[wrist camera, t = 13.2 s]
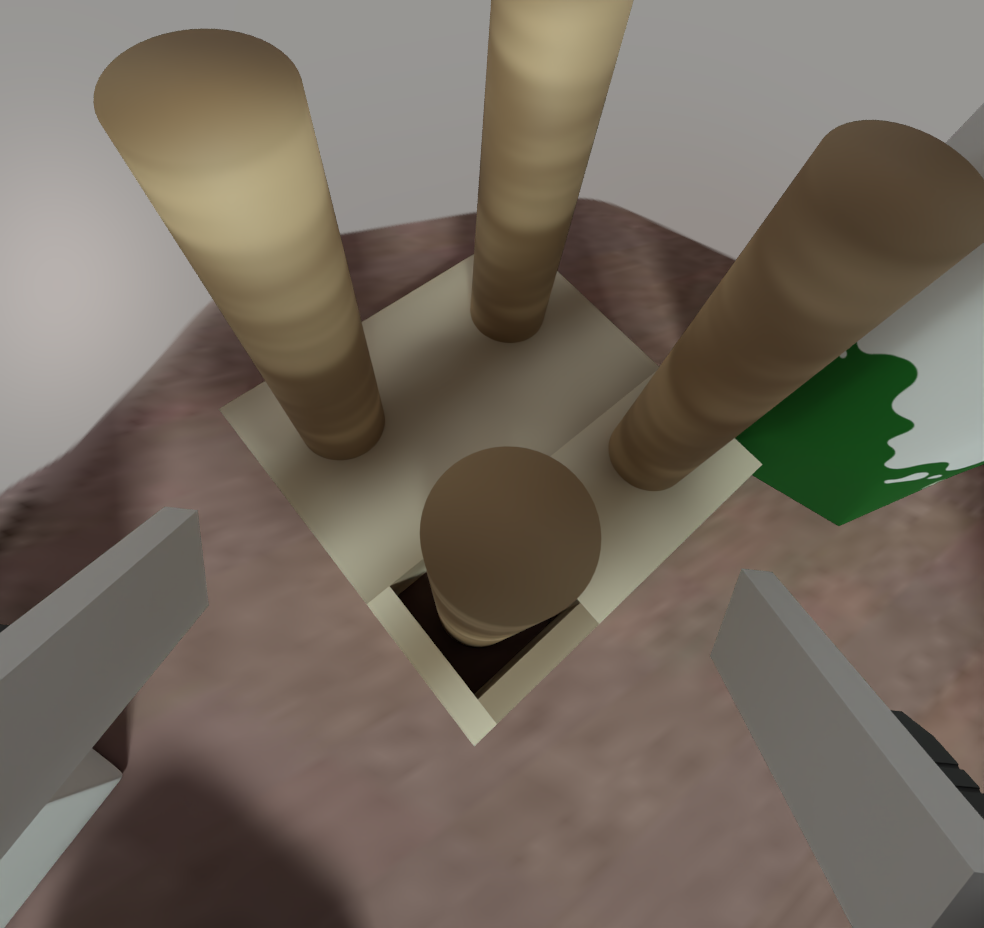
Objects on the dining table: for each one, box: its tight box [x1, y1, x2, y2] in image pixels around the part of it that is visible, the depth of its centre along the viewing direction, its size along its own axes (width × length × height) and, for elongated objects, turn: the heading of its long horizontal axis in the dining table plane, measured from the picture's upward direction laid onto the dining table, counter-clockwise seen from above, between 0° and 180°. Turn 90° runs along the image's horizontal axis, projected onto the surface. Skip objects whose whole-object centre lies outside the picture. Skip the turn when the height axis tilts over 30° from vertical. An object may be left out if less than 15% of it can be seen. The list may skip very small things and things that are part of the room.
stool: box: [94, 0, 984, 746], centre depth 17 cm, size 16×16×16 cm
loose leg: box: [420, 446, 601, 648], centre depth 16 cm, size 3×3×13 cm
